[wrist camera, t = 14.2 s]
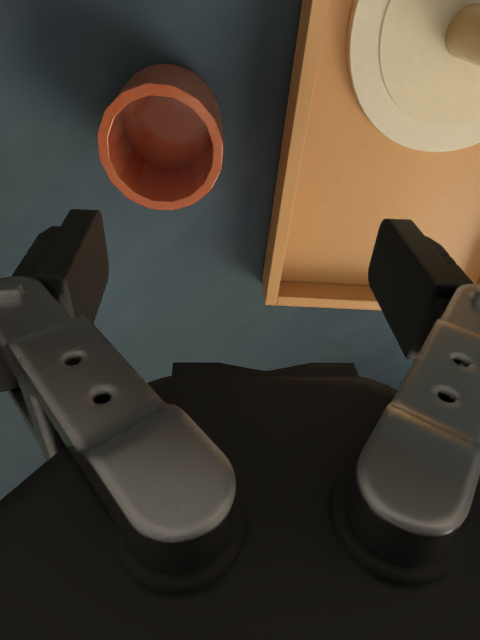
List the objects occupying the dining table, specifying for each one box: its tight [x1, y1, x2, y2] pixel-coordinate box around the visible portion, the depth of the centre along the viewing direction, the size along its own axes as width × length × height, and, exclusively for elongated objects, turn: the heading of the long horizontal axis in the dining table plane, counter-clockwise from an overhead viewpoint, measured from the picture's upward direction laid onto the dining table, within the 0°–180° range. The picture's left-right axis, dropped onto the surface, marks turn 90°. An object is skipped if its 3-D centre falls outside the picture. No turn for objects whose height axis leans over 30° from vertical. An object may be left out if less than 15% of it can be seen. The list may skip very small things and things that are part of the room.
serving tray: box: [262, 0, 480, 310], centre depth 26 cm, size 17×25×3 cm
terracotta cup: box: [97, 64, 223, 210], centre depth 24 cm, size 6×6×6 cm
